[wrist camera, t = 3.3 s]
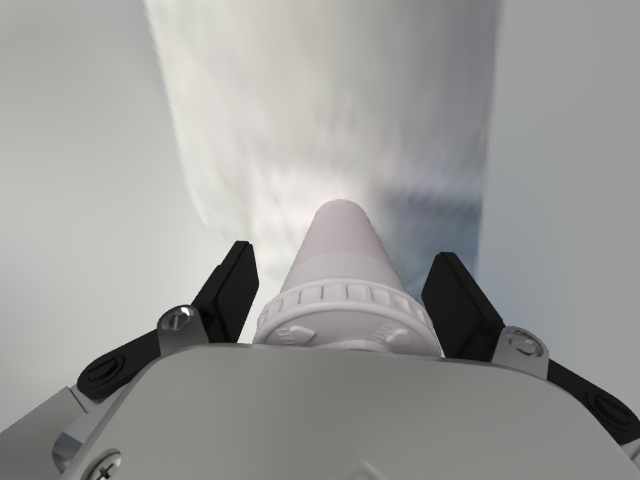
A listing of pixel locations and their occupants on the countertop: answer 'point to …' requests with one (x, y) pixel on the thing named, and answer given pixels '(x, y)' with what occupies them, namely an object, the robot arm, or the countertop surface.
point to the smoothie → (345, 293)
